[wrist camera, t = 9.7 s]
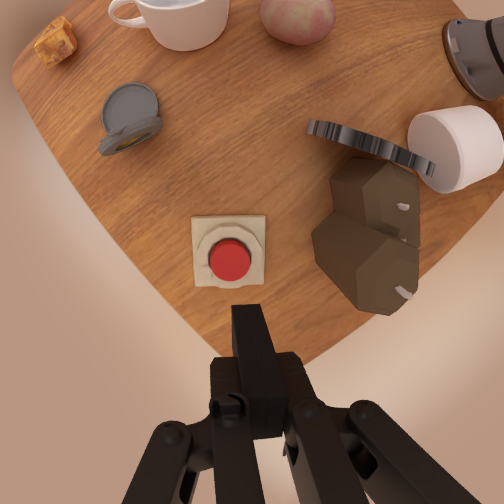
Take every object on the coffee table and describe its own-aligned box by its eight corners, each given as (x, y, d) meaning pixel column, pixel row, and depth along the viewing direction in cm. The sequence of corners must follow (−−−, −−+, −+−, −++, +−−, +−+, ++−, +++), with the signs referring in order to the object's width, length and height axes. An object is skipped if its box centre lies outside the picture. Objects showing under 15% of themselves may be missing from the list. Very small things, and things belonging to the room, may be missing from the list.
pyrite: (54, 51, 22) (80, 34, 22) (47, 71, 20) (76, 51, 20) (39, 28, 17) (66, 9, 17) (28, 44, 15) (59, 21, 15)
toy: (299, 131, 29) (333, 140, 20) (302, 118, 28) (337, 122, 19) (397, 163, 31) (448, 185, 22) (400, 152, 30) (452, 171, 22)
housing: (264, 214, 31) (268, 220, 29) (262, 280, 34) (266, 291, 31) (192, 216, 30) (189, 222, 28) (195, 282, 33) (193, 294, 30)
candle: (345, 296, 36) (403, 366, 22) (281, 224, 32) (330, 278, 18) (413, 228, 34) (492, 267, 20) (363, 148, 30) (453, 151, 16)
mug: (127, 8, 21) (100, -36, 11) (226, -5, 22) (232, -57, 12) (122, 64, 23) (85, 30, 13) (228, 50, 25) (234, 4, 15)
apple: (330, 46, 25) (360, 22, 18) (273, 62, 26) (291, 35, 18) (300, -2, 23) (321, -34, 15) (243, 11, 23) (252, -24, 15)
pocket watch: (125, 75, 24) (91, 47, 15) (184, 107, 26) (170, 85, 17) (87, 137, 26) (40, 133, 16) (143, 171, 28) (111, 178, 19)
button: (248, 238, 29) (250, 243, 28) (248, 274, 31) (250, 281, 29) (209, 239, 29) (209, 244, 27) (211, 275, 30) (211, 282, 28)
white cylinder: (469, 140, 19) (511, 128, 19) (407, 99, 25) (456, 93, 25) (445, 225, 29) (488, 203, 28) (402, 179, 35) (447, 163, 35)
